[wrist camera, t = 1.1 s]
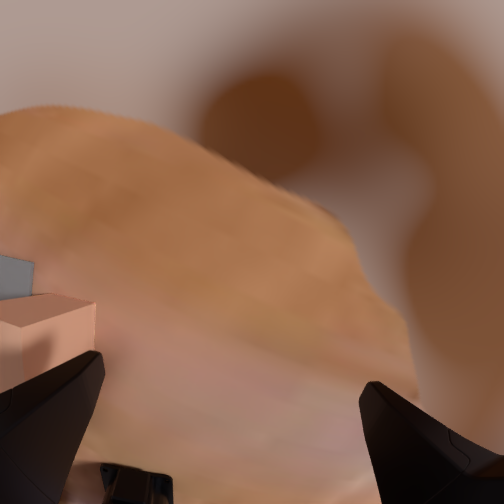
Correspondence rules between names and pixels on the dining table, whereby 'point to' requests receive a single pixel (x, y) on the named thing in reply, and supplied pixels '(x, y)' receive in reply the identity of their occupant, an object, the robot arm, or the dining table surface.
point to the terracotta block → (42, 335)
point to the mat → (15, 278)
